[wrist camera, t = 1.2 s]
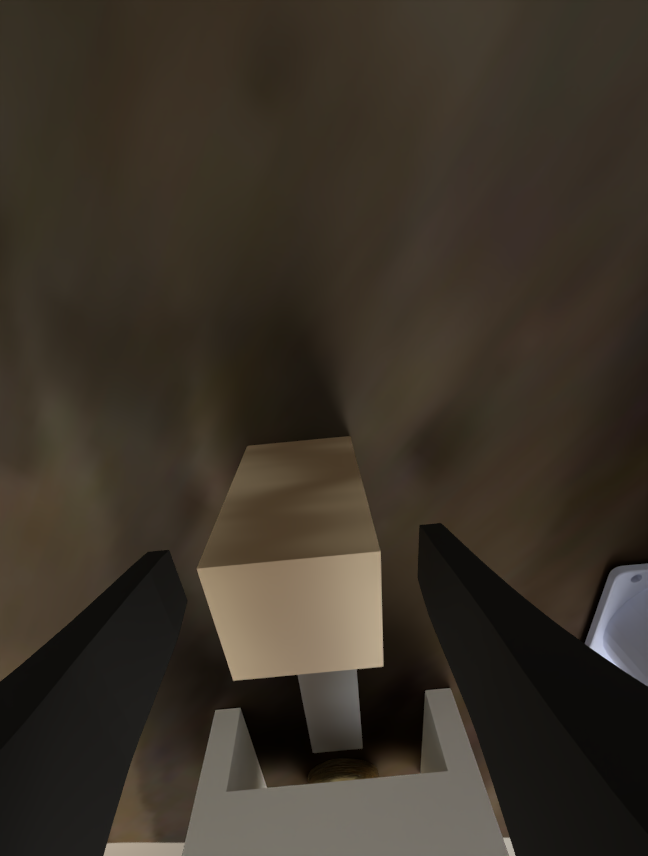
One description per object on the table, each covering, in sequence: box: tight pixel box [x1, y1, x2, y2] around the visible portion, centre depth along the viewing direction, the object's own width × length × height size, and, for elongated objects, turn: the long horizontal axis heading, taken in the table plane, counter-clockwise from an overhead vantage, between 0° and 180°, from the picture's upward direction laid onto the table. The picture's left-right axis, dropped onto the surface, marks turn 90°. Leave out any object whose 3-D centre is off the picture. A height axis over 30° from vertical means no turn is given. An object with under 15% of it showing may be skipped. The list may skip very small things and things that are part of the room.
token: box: [308, 758, 379, 784], centre depth 22 cm, size 5×5×2 cm
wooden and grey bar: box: [197, 436, 383, 753], centre depth 14 cm, size 4×20×6 cm, turn 5°
